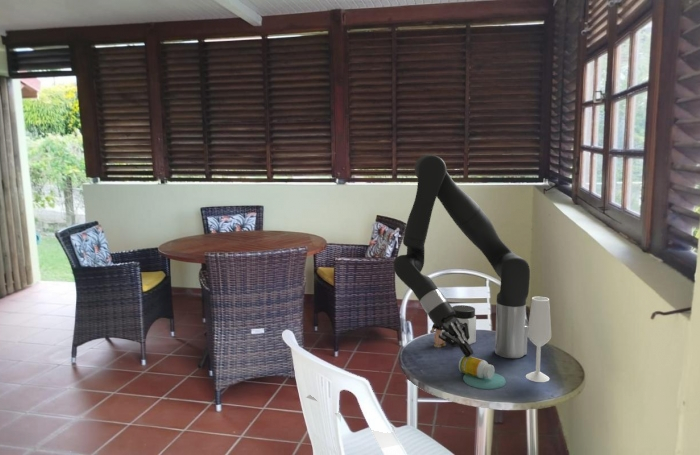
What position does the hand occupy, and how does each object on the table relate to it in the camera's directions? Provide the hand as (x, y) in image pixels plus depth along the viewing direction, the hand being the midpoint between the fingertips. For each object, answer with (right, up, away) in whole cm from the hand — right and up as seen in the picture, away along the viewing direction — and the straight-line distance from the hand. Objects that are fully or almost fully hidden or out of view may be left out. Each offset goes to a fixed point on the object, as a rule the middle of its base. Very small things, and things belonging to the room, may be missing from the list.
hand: (470, 355), depth 162 cm
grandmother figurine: (-5, -3, +26) cm, 27 cm away
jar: (+4, -2, +30) cm, 31 cm away
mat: (+3, -7, -3) cm, 8 cm away
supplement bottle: (-2, -3, +2) cm, 4 cm away
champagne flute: (+20, -7, -1) cm, 21 cm away
